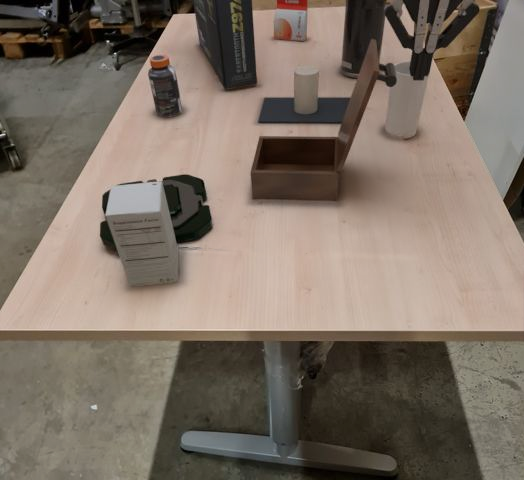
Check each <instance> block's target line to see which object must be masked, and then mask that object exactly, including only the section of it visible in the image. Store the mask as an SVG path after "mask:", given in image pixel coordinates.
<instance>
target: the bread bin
mask: <svg viewBox="0 0 524 480" xmlns="http://www.w3.org/2000/svg"><path fill="white" fill-rule="evenodd" d="M337 154H338V136H296V135H295V136H292V135H291V136H283V135H281V136H279V135H278V136H277V135H274V136H273V135H259V137H258V141H257V144H256V149H255V153H254V157H253V161H252V165H251V169H250V185H251V196H252V197H251V198H252V200H275V201H277V200H279V201H280V200H281V201H319V202H323V201H325V202H337V201H338V190H339V180H340V171H337Z"/></svg>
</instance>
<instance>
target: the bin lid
mask: <svg viewBox="0 0 524 480" xmlns="http://www.w3.org/2000/svg"><path fill="white" fill-rule="evenodd" d="M394 65H395V64H394V63H393V62H388V63H386V64H383V63H378V53H377V44H376V40H374V39H371V41H370V44H369V47H368V50H367V53H366V55H365V58H364V61H363V64H362V67H361V70H360V73H359V75H358V78H356V81H355V84H354V87H353V90H352V93H351V96H350V97H349V98H350V101H349V104H348V107H347V110H346V112H345V115H344V118H343V121H342V123H340V127H339V129H338V133H337V137H338V154H337V171H339V172H341V173H342V172H343V169H344V166H345V164H346V161H347V159H348V156H349V154H350V152H351V148H352V146H353V143H354V140H355V139H356V138H355V137H356V135H357V132H358V129H359V127H360V125H361V122H362V120H363V117H364V114H365V112H366V109H367V106H368V103H369V101H370V98H371V96H372V93H373V91H374V88H375V85H376V83H377V81H380V82H384V83H385V86H387V87H388V88H390V87H393V86H394V85H395V84H396V82H397V78H396V72H395V66H394ZM380 71H382V72H383V73H384V74H383V73H380Z"/></svg>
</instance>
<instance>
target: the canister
mask: <svg viewBox="0 0 524 480" xmlns="http://www.w3.org/2000/svg"><path fill="white" fill-rule="evenodd" d="M319 82H320V69H319V67H318V66H315V65H310V64H307V65H306V64H304V65H300V66H299V65H298V66H297V67H295V68H294V70H293V98H294V111H295V112H296V113H299V114H312V113H314V112H316V111H317V109H318V98H319V86H320V85H319Z"/></svg>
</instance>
